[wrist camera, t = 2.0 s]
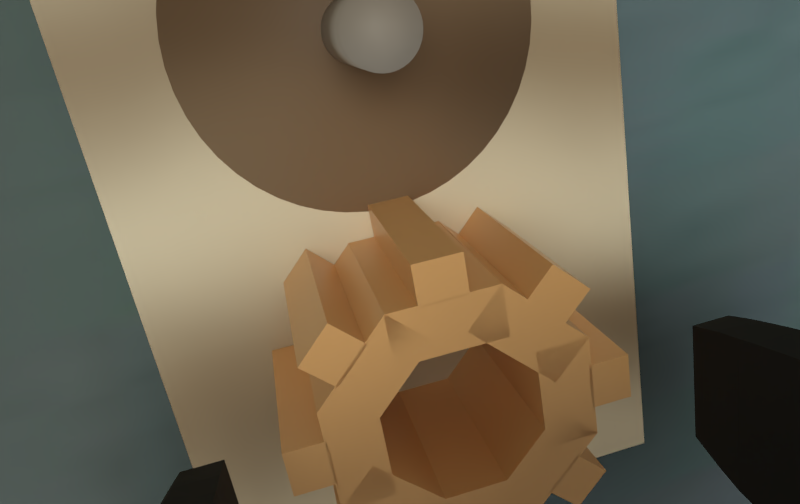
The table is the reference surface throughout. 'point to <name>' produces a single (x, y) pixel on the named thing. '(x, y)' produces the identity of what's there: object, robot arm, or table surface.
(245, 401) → the gear board
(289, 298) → the orange gear
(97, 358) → the table surface
